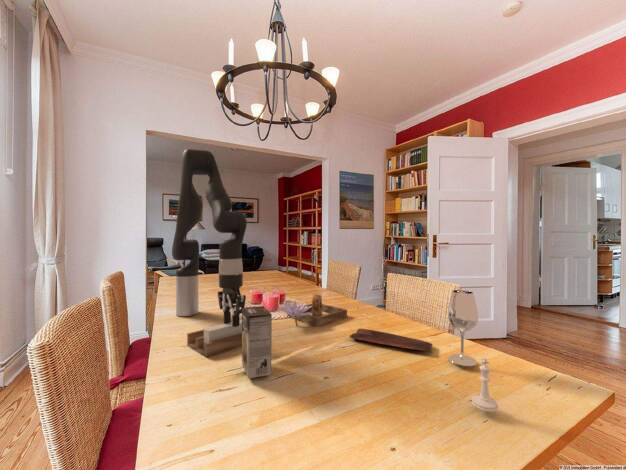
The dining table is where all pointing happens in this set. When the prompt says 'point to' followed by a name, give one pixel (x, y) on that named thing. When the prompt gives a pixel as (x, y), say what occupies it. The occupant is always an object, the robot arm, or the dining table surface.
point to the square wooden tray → (333, 316)
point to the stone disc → (317, 305)
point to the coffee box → (256, 341)
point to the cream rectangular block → (221, 332)
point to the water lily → (295, 310)
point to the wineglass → (462, 321)
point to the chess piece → (484, 391)
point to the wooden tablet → (391, 339)
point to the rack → (212, 343)
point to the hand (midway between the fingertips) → (231, 324)
